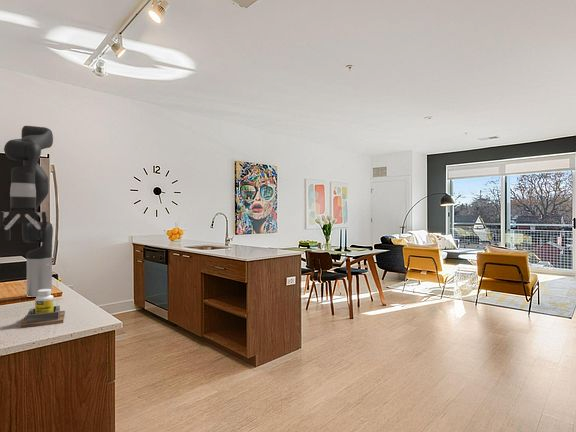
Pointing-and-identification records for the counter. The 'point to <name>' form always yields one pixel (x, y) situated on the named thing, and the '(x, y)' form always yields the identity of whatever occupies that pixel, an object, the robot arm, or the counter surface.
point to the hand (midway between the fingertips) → (23, 239)
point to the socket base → (43, 318)
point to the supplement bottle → (44, 302)
